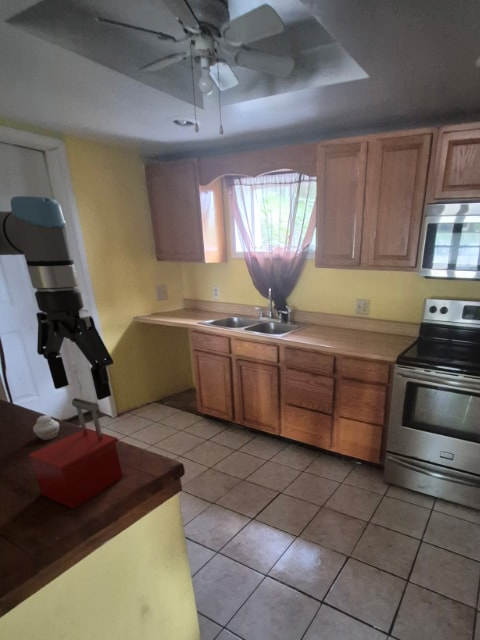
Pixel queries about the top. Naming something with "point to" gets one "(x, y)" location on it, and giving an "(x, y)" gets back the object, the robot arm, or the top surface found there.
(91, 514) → the top surface
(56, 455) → the hatch
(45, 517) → the top surface
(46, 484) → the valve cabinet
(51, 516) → the top surface
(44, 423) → the muffin
